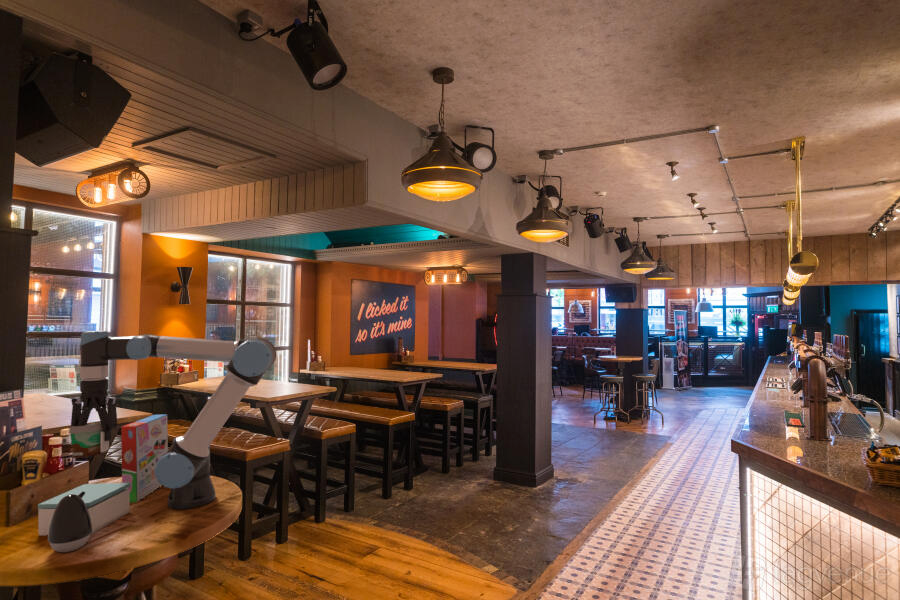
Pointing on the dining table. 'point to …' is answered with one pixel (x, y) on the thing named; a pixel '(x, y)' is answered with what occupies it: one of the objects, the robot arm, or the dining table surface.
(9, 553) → the dining table surface
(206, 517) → the dining table surface
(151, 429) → the game box
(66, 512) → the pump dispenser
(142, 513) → the dining table surface
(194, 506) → the robot arm
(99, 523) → the cream box
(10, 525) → the dining table surface
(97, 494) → the box lid
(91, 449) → the food container
